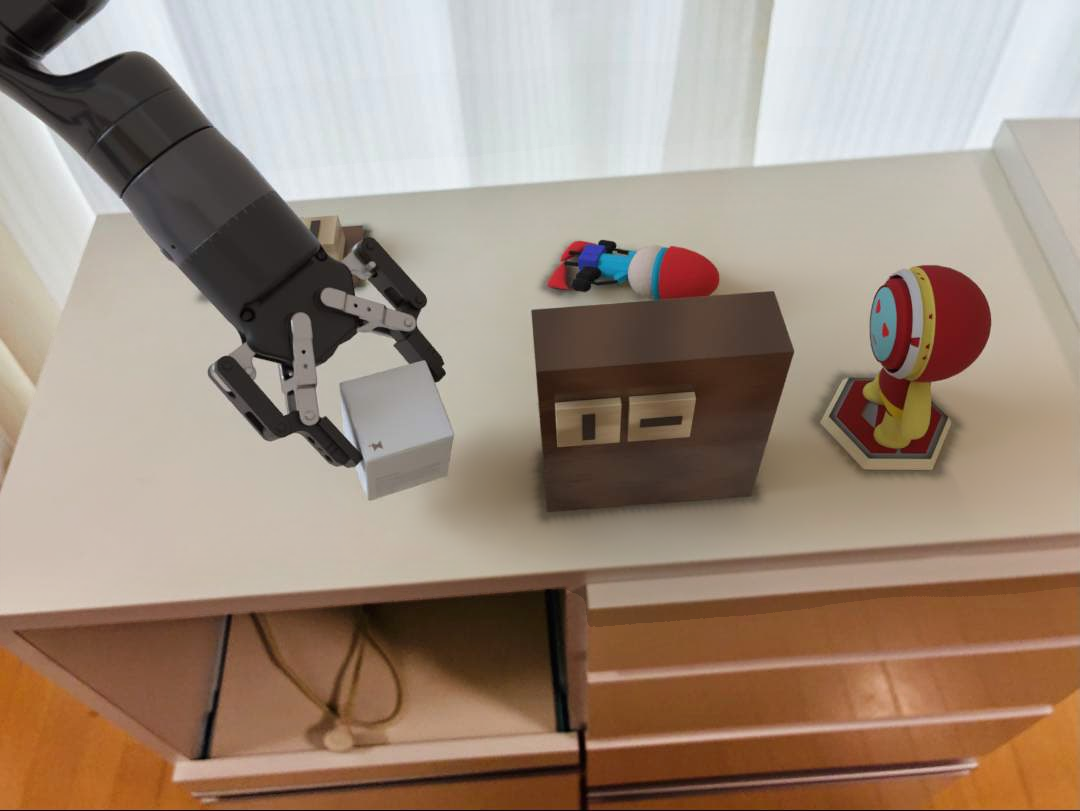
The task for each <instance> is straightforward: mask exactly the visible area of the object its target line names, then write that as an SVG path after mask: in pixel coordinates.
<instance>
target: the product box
mask: <svg viewBox="0 0 1080 811" xmlns="http://www.w3.org/2000/svg"><path fill="white" fill-rule="evenodd" d="M338 387H339V396H340V404H341V415H342V427H343V435H344V436H345V437H346V438H347V439H348V440H349V441H350V443H351V444H352V445H353V446H354V447H355V448H356V449H357V450H358V451H359V452H360V453H361V455H362V456H363V460H362V461H361V462H360V463H359V464H358V465H357V466H356V467H355V470H356V473H357V475H358V478H359V482H360V485H361V487H362V489H363V492H364V495H365V498H366V500H367V501H374V500H377V499H380V498H383V497H385V496H389V495H390V496H391V495H393V494H395V493H399V492H402V491H405V490H408V489H412V488H415V487H418V486H420V485H424V484H427V483H431V482H433V481H437V480H439V479H442V478H446V477H447V476H448V471H449V467H450V460H451V454H452V450H453V444H454V439H455V432H454V428H453V425H452V424H451V420H450V417H449V415H448V412H447V410H446V407H445V405H444V402H443V400H442V397H441V394H440V391H439V390H438V387H437V384H436V383H435V382H434V379H433V377H432V375H431V372H430V370H429V367H428V365H427V363H426V361H425V360H423V361H420V362H415V363H412V364H409V363H408V364H404V365H401V366H397V367H393V368H390V369H386V370H382V371H380V372H376V373H372V374H368V375H365V376H360V377H357V378H353V379H349V380H345V381H341V382H339V384H338Z"/></svg>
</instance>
